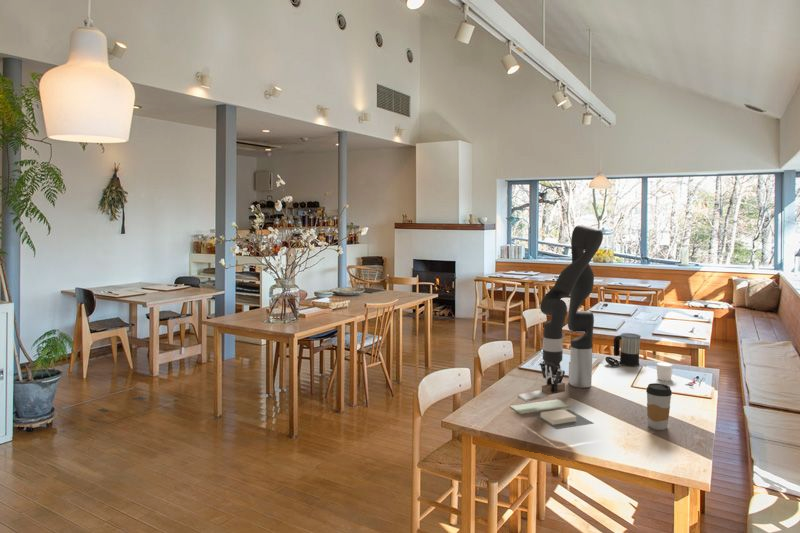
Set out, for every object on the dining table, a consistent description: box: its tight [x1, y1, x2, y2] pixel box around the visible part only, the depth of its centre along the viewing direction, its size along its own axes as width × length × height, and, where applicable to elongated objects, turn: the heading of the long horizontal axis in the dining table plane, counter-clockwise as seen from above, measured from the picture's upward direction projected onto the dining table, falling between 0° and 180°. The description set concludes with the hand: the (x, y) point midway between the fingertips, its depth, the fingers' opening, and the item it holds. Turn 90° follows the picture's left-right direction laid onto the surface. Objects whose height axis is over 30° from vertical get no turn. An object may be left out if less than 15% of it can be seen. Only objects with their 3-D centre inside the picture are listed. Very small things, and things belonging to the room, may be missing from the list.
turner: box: [517, 382, 566, 403], centre depth 226 cm, size 19×6×3 cm, turn 109°
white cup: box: [656, 361, 674, 382], centre depth 262 cm, size 7×7×7 cm
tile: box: [540, 408, 576, 425], centre depth 213 cm, size 8×2×10 cm
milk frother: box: [604, 332, 642, 367], centre depth 285 cm, size 14×16×15 cm
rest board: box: [509, 399, 570, 415], centre depth 227 cm, size 8×22×1 cm, turn 109°
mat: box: [533, 409, 594, 430], centre depth 214 cm, size 15×16×1 cm
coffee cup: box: [645, 382, 672, 431], centre depth 206 cm, size 8×8×15 cm
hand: (551, 391), depth 227 cm, fingers closed on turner, 2 cm apart
